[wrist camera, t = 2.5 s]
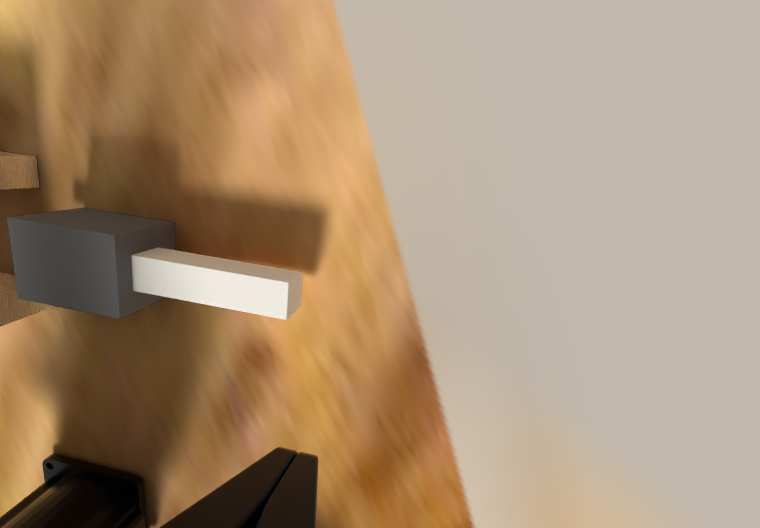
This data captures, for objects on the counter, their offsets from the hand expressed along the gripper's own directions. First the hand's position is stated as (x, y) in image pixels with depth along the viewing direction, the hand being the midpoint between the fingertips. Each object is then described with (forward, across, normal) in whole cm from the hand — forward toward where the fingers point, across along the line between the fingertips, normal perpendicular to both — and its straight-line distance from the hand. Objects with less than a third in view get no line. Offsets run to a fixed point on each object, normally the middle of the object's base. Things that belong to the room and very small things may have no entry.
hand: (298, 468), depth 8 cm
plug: (+11, +10, 0) cm, 14 cm away
